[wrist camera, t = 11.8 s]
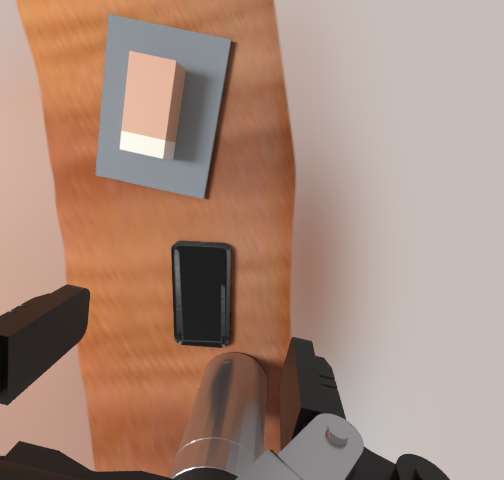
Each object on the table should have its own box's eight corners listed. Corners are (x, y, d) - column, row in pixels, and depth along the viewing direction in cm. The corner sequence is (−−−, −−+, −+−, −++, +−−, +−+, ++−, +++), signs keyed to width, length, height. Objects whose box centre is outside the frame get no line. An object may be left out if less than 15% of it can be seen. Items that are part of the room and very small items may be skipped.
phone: (174, 344, 43) (170, 241, 40) (177, 339, 45) (173, 239, 41) (229, 348, 43) (231, 244, 39) (230, 343, 44) (232, 242, 40)
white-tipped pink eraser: (143, 61, 35) (129, 50, 32) (185, 70, 35) (176, 60, 32) (133, 150, 38) (119, 149, 34) (173, 159, 37) (162, 158, 34)
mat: (204, 198, 39) (203, 199, 38) (98, 174, 39) (95, 175, 39) (231, 41, 35) (230, 39, 34) (111, 16, 35) (108, 14, 34)
